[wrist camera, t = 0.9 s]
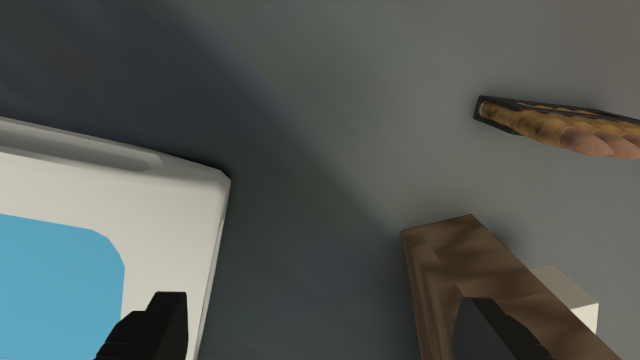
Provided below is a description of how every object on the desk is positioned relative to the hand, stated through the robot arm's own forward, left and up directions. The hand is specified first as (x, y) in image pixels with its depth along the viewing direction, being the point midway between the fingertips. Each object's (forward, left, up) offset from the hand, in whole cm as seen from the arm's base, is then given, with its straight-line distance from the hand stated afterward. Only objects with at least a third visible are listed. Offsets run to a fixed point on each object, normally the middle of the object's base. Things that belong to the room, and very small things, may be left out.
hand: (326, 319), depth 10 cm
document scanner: (+15, -18, -20) cm, 31 cm away
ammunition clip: (-7, +18, -20) cm, 28 cm away
